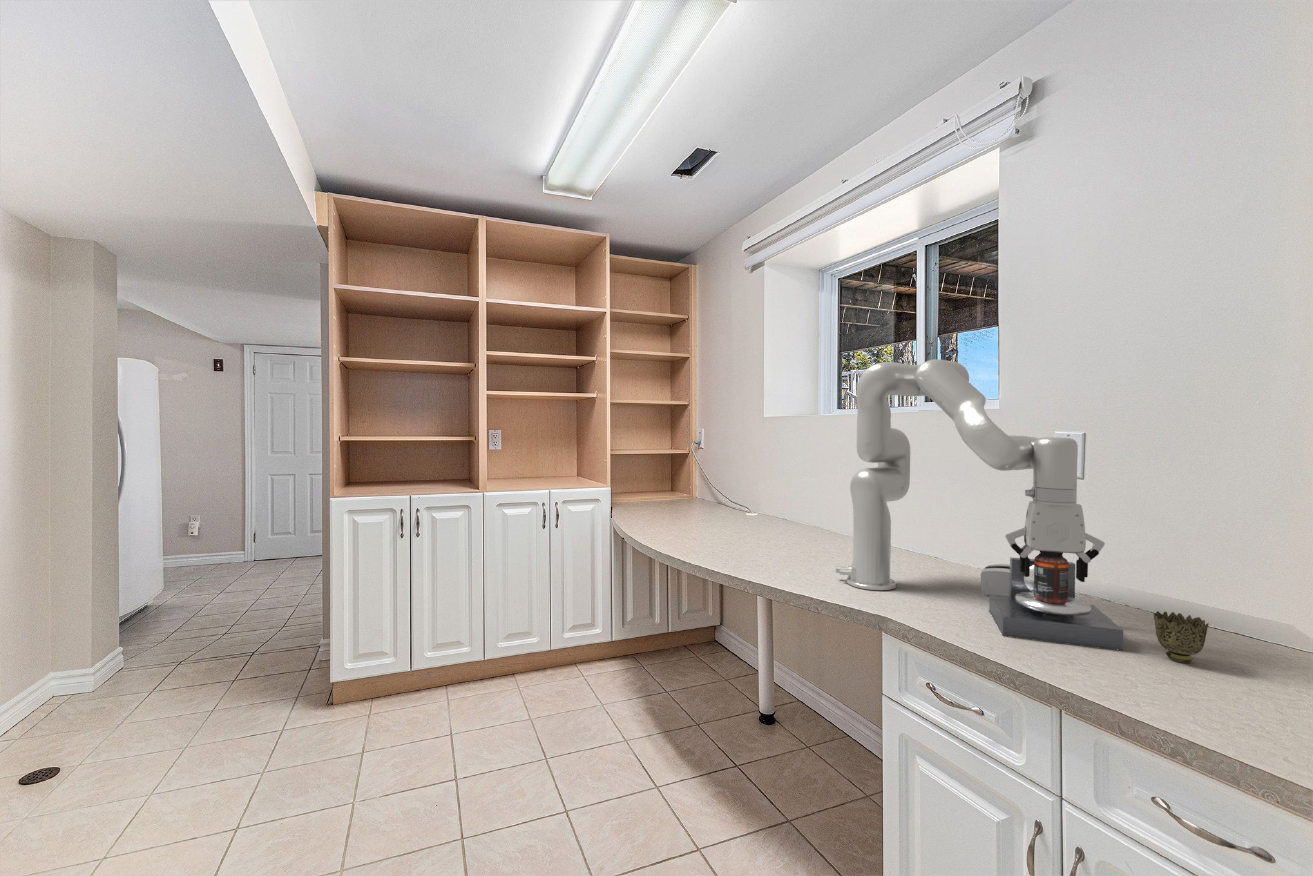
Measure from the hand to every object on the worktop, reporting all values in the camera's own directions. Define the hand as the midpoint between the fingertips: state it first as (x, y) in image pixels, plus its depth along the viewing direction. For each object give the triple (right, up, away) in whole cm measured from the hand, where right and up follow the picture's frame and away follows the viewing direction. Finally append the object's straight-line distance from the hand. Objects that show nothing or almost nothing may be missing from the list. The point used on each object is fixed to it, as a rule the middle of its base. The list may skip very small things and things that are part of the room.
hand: (1052, 578), depth 120 cm
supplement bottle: (0, -5, 0) cm, 5 cm away
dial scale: (0, -11, +2) cm, 11 cm away
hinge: (+6, -11, +22) cm, 25 cm away
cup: (+13, -12, -14) cm, 23 cm away
